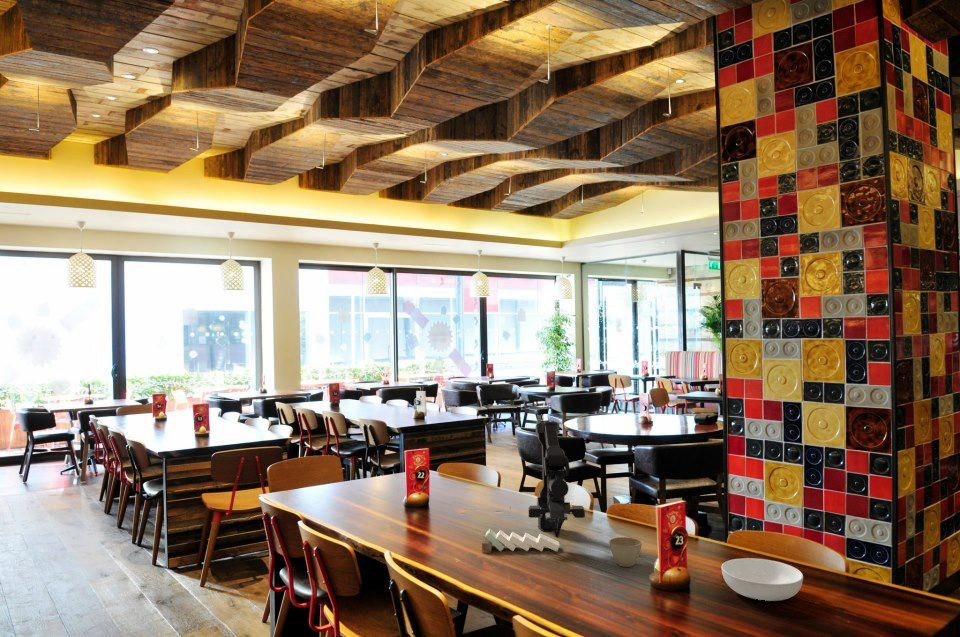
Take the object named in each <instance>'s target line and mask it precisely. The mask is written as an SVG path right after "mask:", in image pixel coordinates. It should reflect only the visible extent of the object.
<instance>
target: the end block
mask: <svg viewBox="0 0 960 637" xmlns="http://www.w3.org/2000/svg"><path fill="white" fill-rule="evenodd" d="M481 542H482V543H481V552H482V553H492V550H493V544H492V543H491V542H490V541H489V540H488V539H487V538H486V537H485V536H482V541H481Z"/></svg>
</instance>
